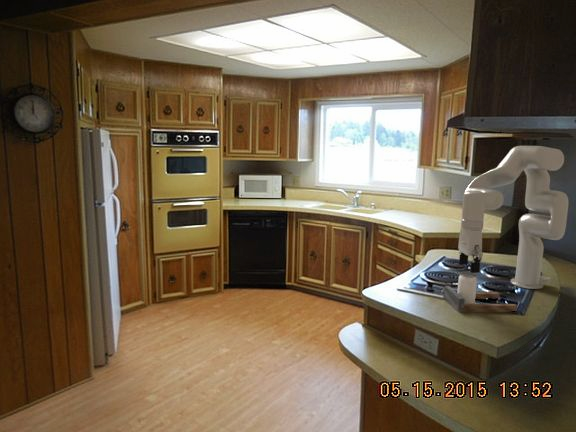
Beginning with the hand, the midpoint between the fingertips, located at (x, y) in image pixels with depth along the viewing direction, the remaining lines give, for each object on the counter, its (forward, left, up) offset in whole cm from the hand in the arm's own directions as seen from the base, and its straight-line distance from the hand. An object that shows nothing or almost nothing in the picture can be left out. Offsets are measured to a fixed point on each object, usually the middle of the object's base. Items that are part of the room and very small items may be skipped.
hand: (468, 268), depth 164 cm
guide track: (-5, 0, -14) cm, 15 cm away
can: (0, +1, -15) cm, 15 cm away
